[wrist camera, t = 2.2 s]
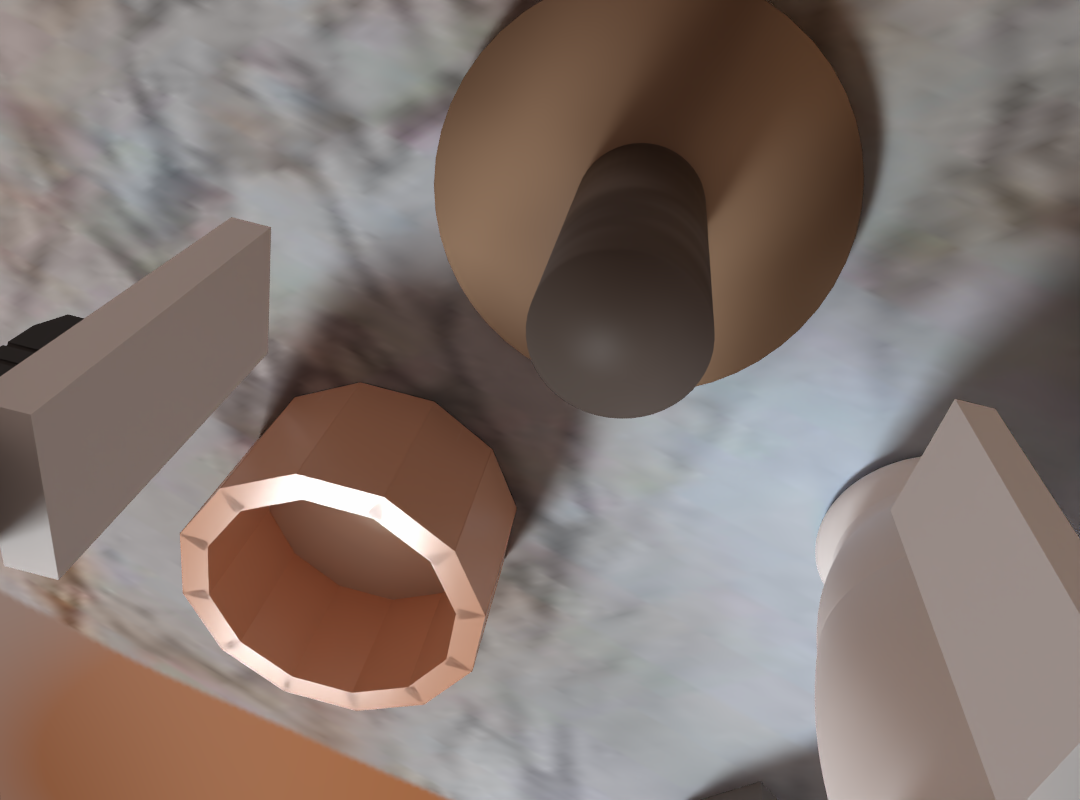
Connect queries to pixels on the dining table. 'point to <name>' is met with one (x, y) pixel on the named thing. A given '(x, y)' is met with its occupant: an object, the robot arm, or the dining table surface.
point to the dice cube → (746, 793)
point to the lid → (647, 192)
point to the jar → (884, 663)
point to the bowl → (353, 549)
